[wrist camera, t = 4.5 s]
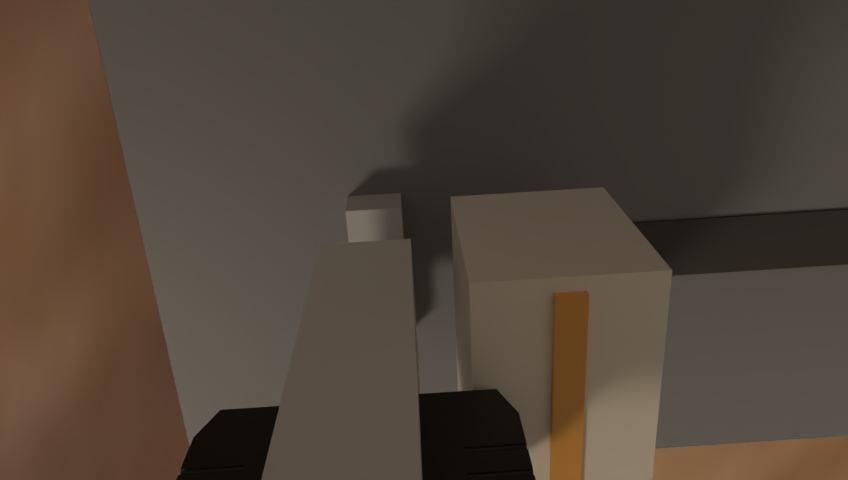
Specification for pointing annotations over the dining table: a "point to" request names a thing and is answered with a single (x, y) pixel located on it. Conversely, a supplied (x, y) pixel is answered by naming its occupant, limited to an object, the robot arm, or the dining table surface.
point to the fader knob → (563, 326)
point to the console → (495, 175)
